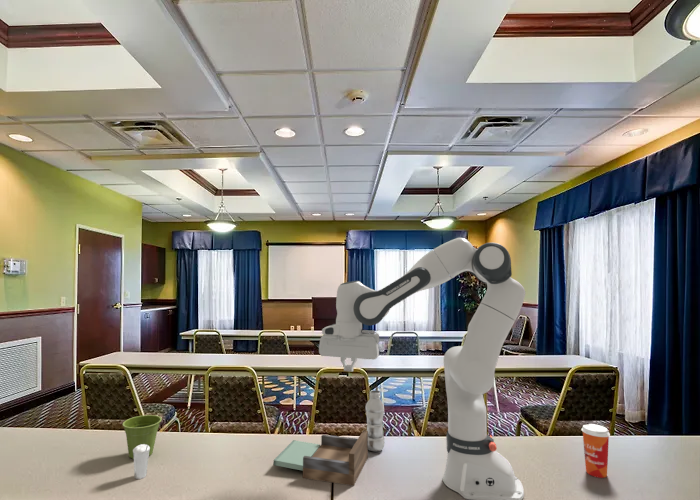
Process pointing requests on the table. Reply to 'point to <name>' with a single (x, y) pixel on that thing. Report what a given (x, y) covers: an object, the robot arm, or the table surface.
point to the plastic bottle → (375, 421)
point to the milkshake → (140, 460)
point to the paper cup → (596, 449)
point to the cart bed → (337, 459)
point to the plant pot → (141, 431)
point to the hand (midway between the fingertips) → (348, 370)
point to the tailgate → (295, 454)
